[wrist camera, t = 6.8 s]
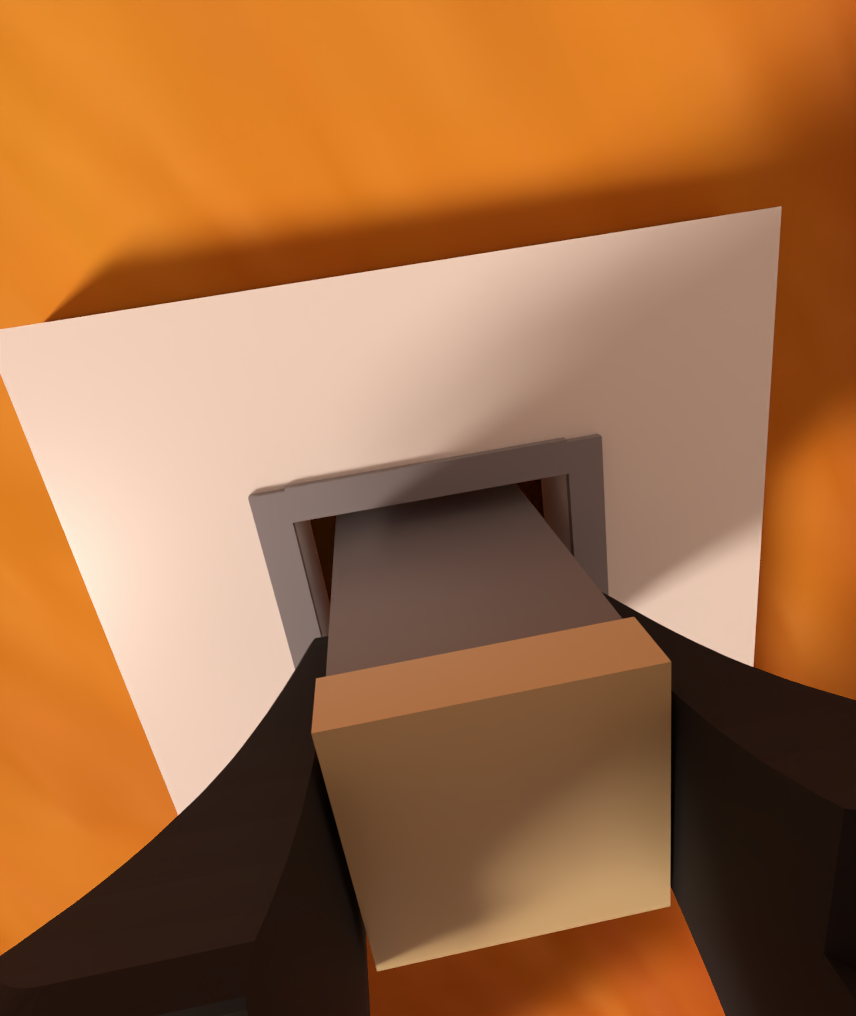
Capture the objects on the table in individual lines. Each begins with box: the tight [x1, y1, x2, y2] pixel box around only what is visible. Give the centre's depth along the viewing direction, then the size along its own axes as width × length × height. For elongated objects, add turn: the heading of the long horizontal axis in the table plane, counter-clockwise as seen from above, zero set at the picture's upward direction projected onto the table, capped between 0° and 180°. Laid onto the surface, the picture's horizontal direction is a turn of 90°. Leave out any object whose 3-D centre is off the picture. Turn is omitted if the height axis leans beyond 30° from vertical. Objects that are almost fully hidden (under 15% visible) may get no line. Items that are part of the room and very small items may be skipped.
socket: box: [0, 206, 782, 815], centre depth 14 cm, size 14×14×2 cm
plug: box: [311, 483, 671, 971], centre depth 11 cm, size 4×4×7 cm
